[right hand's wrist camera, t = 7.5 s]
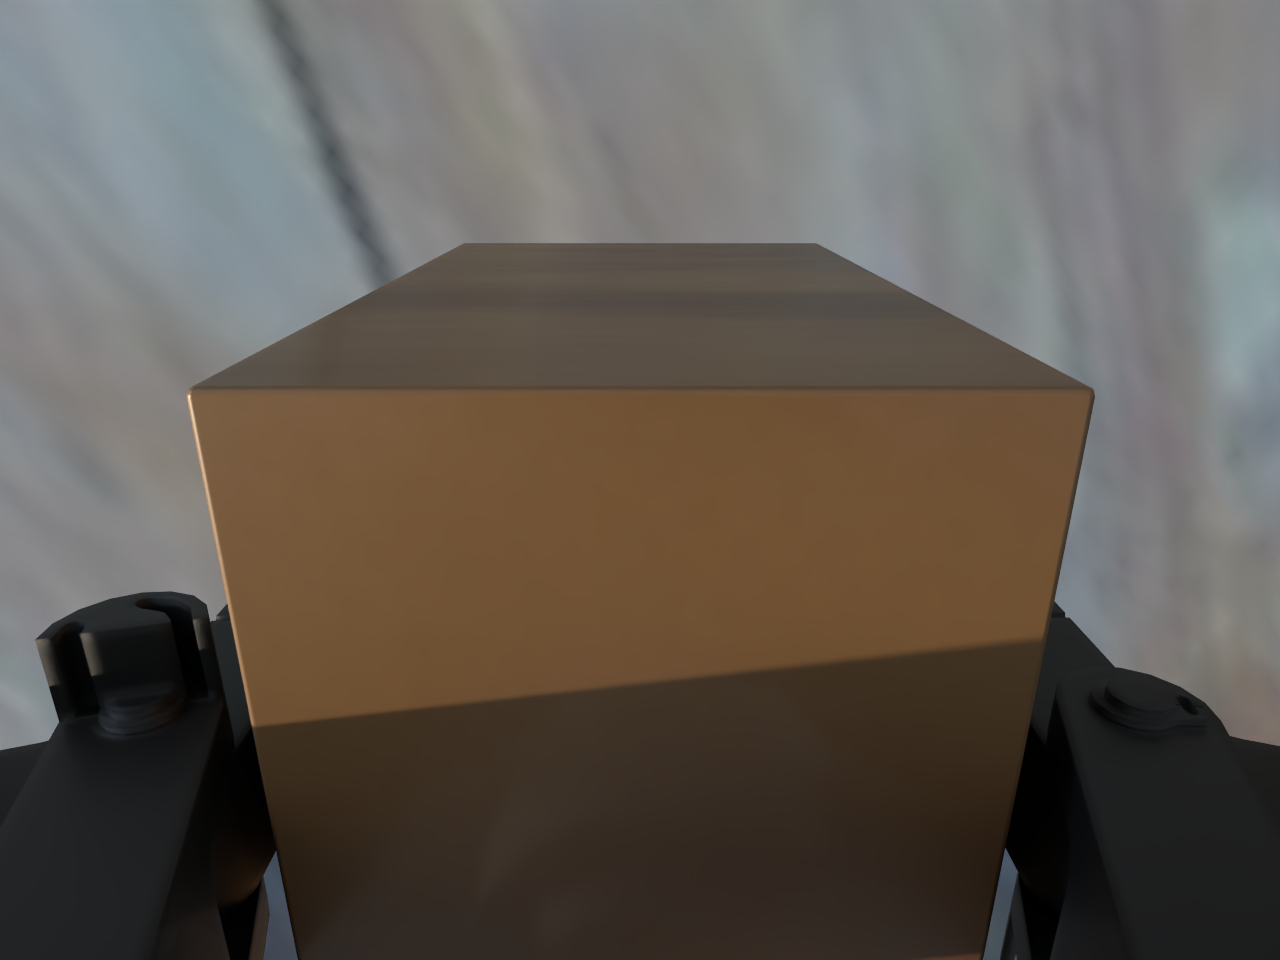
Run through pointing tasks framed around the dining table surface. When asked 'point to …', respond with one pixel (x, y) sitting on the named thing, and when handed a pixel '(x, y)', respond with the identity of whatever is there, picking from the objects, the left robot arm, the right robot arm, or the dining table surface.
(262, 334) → the dining table surface
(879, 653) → the bar
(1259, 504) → the dining table surface
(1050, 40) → the dining table surface
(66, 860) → the right robot arm
